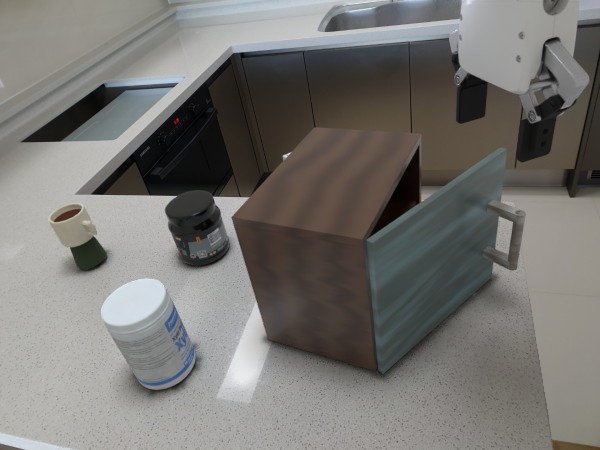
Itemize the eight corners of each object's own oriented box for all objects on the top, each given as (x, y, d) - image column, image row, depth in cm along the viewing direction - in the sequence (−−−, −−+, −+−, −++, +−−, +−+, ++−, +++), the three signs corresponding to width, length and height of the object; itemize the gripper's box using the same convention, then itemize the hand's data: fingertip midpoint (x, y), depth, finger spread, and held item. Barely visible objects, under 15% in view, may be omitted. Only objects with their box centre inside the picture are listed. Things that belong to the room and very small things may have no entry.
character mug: (123, 253, 99) (99, 204, 91) (102, 276, 94) (74, 225, 86) (85, 248, 103) (58, 200, 95) (62, 269, 98) (32, 220, 90)
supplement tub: (205, 371, 71) (175, 305, 62) (145, 404, 68) (105, 339, 59) (186, 332, 78) (157, 267, 69) (131, 359, 75) (94, 295, 66)
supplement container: (187, 237, 100) (169, 191, 93) (234, 232, 99) (220, 185, 92) (175, 270, 92) (154, 222, 85) (226, 265, 90) (210, 216, 83)
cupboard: (421, 255, 84) (421, 133, 70) (375, 371, 66) (362, 239, 52) (331, 239, 92) (314, 127, 78) (267, 339, 74) (230, 217, 59)
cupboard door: (521, 292, 73) (545, 159, 59) (412, 397, 62) (409, 263, 48) (486, 274, 77) (500, 146, 63) (377, 370, 66) (366, 239, 52)
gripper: (661, -72, 29) (601, 163, 39) (493, -74, 43) (480, 100, 53) (559, -47, 28) (524, 188, 38) (420, -58, 42) (421, 117, 52)
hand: (498, 137), depth 46 cm, fingers open, 9 cm apart
